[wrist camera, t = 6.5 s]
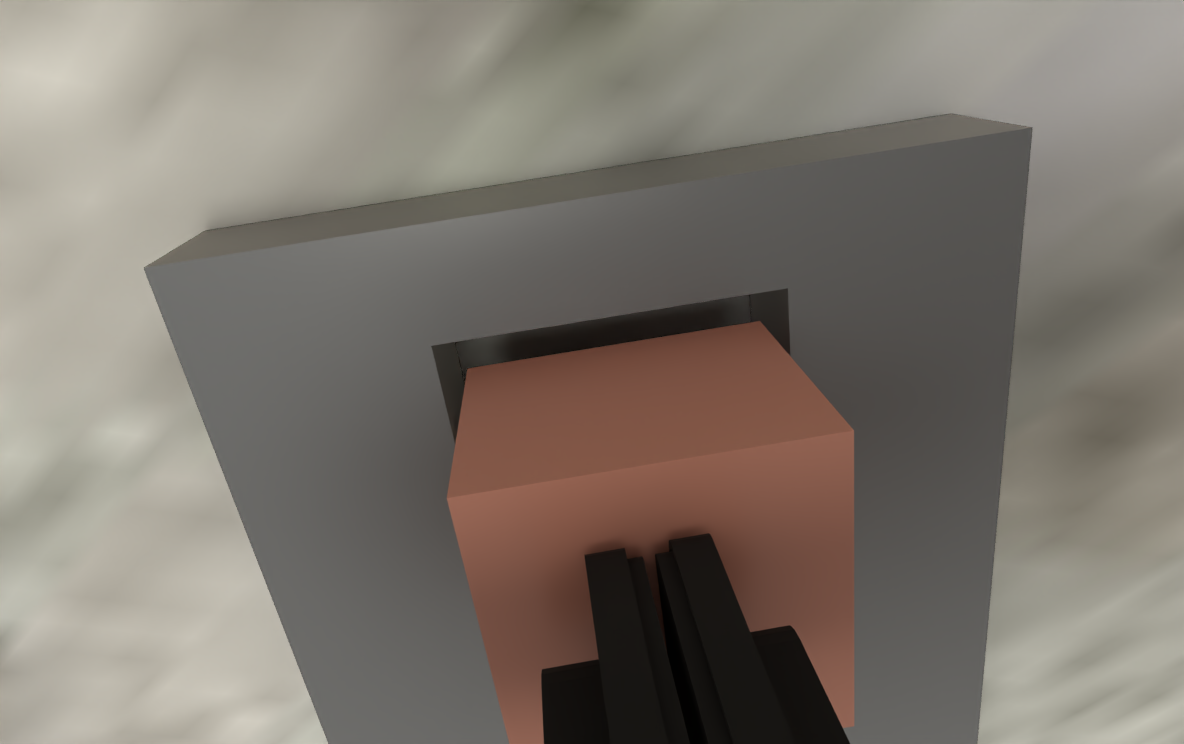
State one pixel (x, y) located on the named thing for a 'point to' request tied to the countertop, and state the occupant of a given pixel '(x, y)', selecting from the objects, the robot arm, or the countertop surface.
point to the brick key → (651, 496)
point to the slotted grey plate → (599, 290)
